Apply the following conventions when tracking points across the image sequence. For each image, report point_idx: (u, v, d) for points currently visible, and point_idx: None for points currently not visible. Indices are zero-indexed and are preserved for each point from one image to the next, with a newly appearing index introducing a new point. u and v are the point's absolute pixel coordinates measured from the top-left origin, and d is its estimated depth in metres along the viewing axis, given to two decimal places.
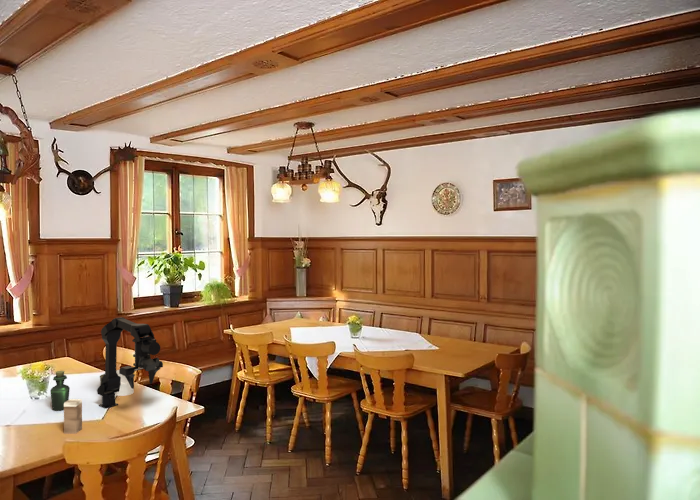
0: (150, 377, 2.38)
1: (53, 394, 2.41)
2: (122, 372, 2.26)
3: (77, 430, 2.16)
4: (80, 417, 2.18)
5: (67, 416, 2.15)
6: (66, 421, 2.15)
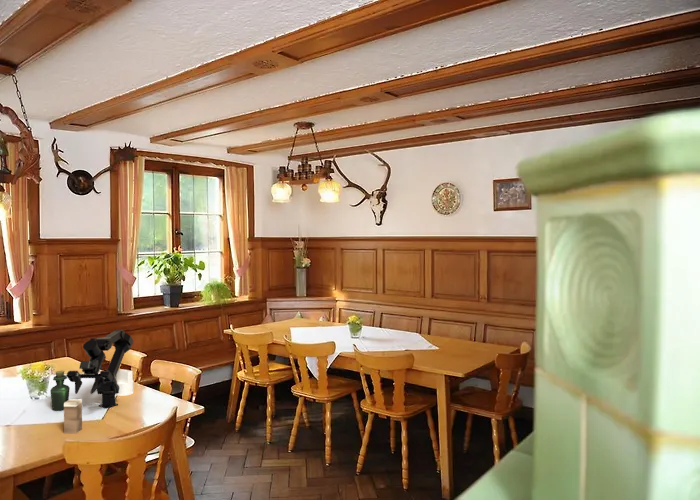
0: None
1: (53, 394, 2.41)
2: None
3: (77, 430, 2.16)
4: (80, 417, 2.18)
5: (67, 416, 2.15)
6: (66, 421, 2.15)
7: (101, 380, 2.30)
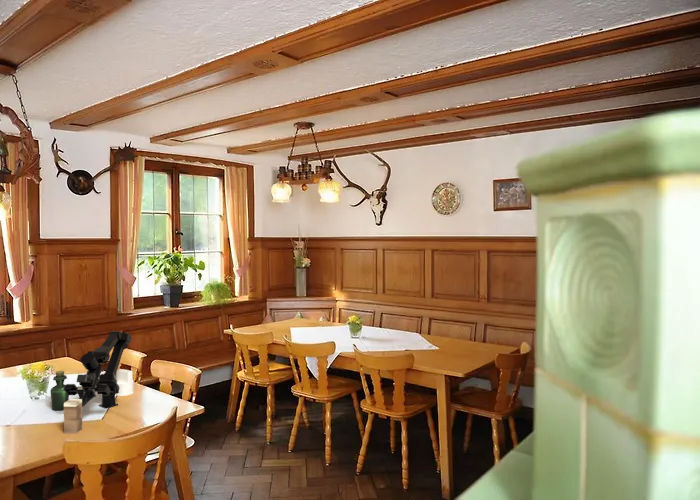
0: None
1: (53, 394, 2.41)
2: None
3: (77, 430, 2.16)
4: (80, 417, 2.18)
5: (67, 416, 2.15)
6: (66, 421, 2.15)
7: (91, 394, 2.28)
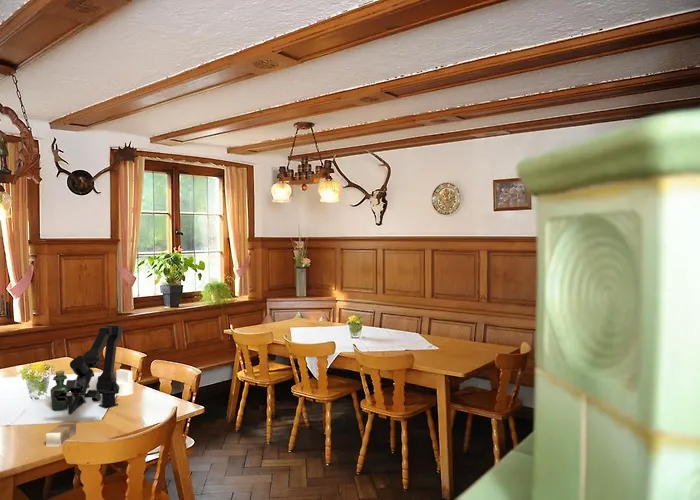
0: None
1: None
2: None
3: (74, 431, 2.14)
4: (68, 430, 2.09)
5: None
6: None
7: (81, 400, 2.19)
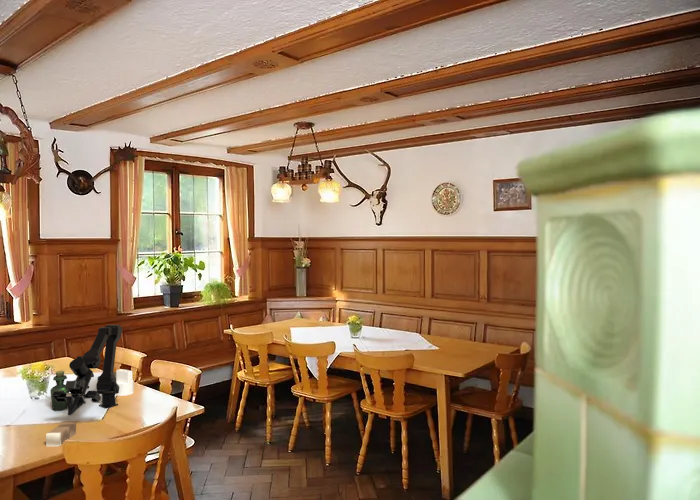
0: None
1: None
2: None
3: (74, 431, 2.14)
4: (68, 430, 2.09)
5: None
6: None
7: (81, 400, 2.19)
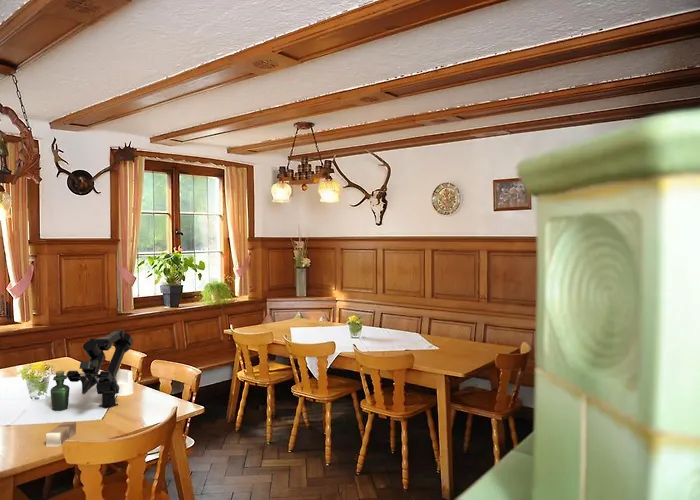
0: None
1: (53, 394, 2.41)
2: None
3: (74, 431, 2.14)
4: (69, 430, 2.09)
5: None
6: None
7: (94, 380, 2.30)
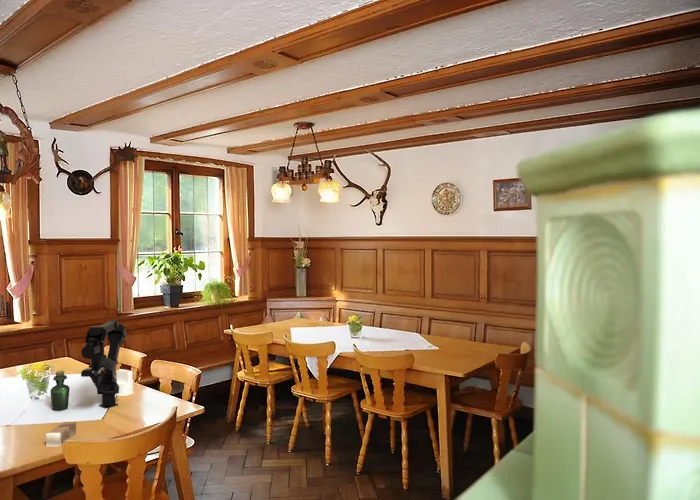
0: None
1: (53, 394, 2.41)
2: (87, 374, 2.28)
3: (74, 431, 2.14)
4: (68, 430, 2.09)
5: None
6: None
7: None
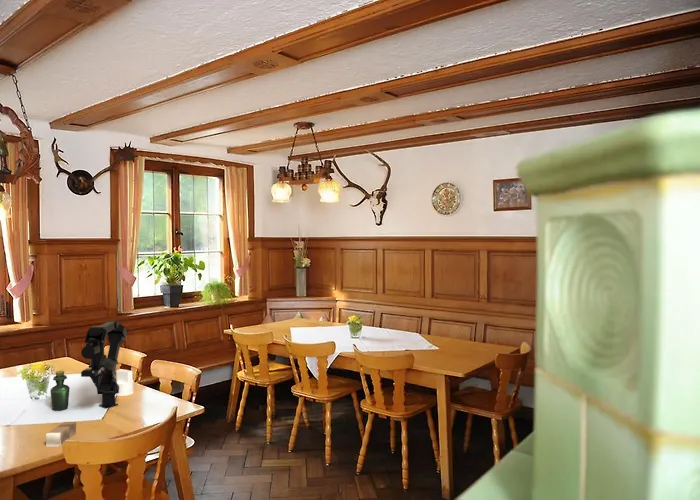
0: None
1: (53, 394, 2.41)
2: (87, 374, 2.28)
3: (74, 431, 2.14)
4: (68, 430, 2.09)
5: None
6: None
7: None
